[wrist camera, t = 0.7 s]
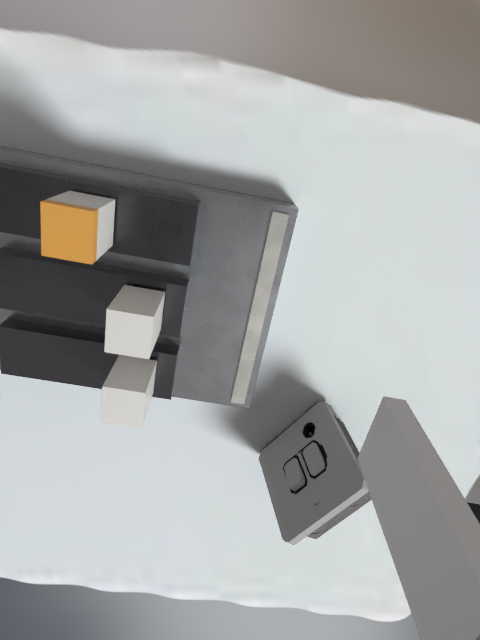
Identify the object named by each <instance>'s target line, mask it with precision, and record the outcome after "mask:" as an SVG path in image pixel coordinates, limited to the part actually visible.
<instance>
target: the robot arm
mask: <svg viewBox="0 0 480 640" xmlns="http://www.w3.org/2000/svg"><path fill="white" fill-rule="evenodd" d="M357 459H358V461H359V464H360V467H361V470H362V473H363V476H364V479H365V481H366V484H367V487H368V490H369V493H370V496H371V499H372V501H373V504H374V507H375V510H376V513H377V516H378V519H379V521H380V524H381V527H382V530H383V533H384V536H385V539H386V541H387V544H388V547H389V550H390V553H391V556H392V558H393V561H394V564H395V567H396V570H397V573H398V576H399V578H400V581H401V584H402V587H403V590H404V593H405V596H406V598H407V601H408V604H409V607H410V610H411V613H412V615H413V618H414V621H415V624H416V627H417V630H418V633H419V636H420V638H421V640H480V505H479V504H473V503H467V502H466V500H465V499H464V497H463V495H462V494H461V492H460V490H459V489H458V487H457V485H456V484H455V482H454V480H453V479H452V477H451V475H450V474H449V472H448V470H447V469H446V467H445V465H444V464H443V462H442V460H441V459H440V457H439V455H438V454H437V452H436V450H435V449H434V447H433V445H432V444H431V442H430V440H429V439H428V437H427V435H426V434H425V432H424V430H423V429H422V427H421V425H420V424H419V422H418V420H417V419H416V417H415V415H414V414H413V412H412V410H411V409H410V407H409V405H408V404H407V402H406V400H401V399H395V398H390V397H383V399H382V401H381V404H380V406H379V408H378V411H377V413H376V415H375V418H374V420H373V422H372V425H371V427H370V430H369V432H368V434H367V437H366V439H365V441H364V444H363V446H362V448H361V451H360V453H359V456H358V458H357Z"/></svg>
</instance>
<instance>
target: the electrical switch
mask: <svg viewBox="0 0 480 640" xmlns="http://www.w3.org/2000/svg"><path fill="white" fill-rule="evenodd" d="M358 456H359V451H358V449H357V448H356V446H355V444H354V442H353V440H352V438H351V436H350V435H349V433H348V431H347V429H346V427H345V425H344V423H343V422H341V421H340V420H338V419H336V418H335V413H334V411H333V409H332V407H331V405H329V404H327V403H325V402H322V401H321V402H318V403H317V404H315V405H314V406H313V407H312V408H311V409H310V410H308V411H307V412H306V413H305V414H304V415H303V416H301V417H300V418H299V419H298V420H297V421H296V422H295V423H293V424H292V425H291V426H290V427H289V428H288V429H286V430H285V431H284V432H283V433H282V434H281V435H279V436H278V437H277V438H276V439H275V440H274V441H273V442H271V443H270V444H269V445H268V446H267V447H266V448H264V449H263V450H262V451H261V453H260V456H259V461H260V464H261V467H262V470H263V474H264V477H265V481H266V484H267V487H268V491H269V494H270V498H271V501H272V504H273V508H274V511H275V515H276V518H277V521H278V525H279V528H280V532H281V535H282V538H283V540H284V541H286V542H288V543H291V544H292V545H295V544H296V543H298V542H299V541H301V540H302V539H303V538H305V537H306V536H308V537H311V538H314V539H317V538H318V537H320V536H321V535H322V534H324V533H325V532H327V531H328V530H330V529H331V528H332V527H334V526H335V525H337V524H338V523H339V522H341V521H342V520H344V519H345V518H346V517H348V516H349V515H351V514H352V513H353V512H355V511H356V510H358V509H359V508H360V507H362V506H363V505H365V504H366V503H367V502H369V501H370V500H372V499H371V496H370V493H369V490H368V487H367V484H366V481H365V479H364V476H363V473H362V470H361V467H360V464H359V461H358V459H357V458H358Z"/></svg>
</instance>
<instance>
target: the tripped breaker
mask: <svg viewBox="0 0 480 640" xmlns="http://www.w3.org/2000/svg"><path fill="white" fill-rule="evenodd" d="M40 211H41V256H46V257H52V258H58V259H63V260H69V261H75V262H80V263H86V264H91V265H92V264H93V263H94V262H95V261H97V260H98V259H99V258H100V257H101V256H102V255H103V254H104V253H105V252H106V251H107V250H108V249H109V248H111V247H112V246H113V232H114V214H115V199H111V198H106V197H101V196H96V195H90V194H85V193H80V192H75V191H67V192H65V193H62V194H59V195H57V196H54V197H51V198H49V199H46V200H43V201H40Z"/></svg>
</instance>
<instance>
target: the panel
mask: <svg viewBox="0 0 480 640" xmlns="http://www.w3.org/2000/svg"><path fill="white" fill-rule="evenodd" d="M67 191H75V192H80V193H85V194H90V195H96V196H101V197H106V198H111V199H115V214H114V232H113V246H112V247H111V248H109V249H108V250H107V251H106V252H105V253H104V254H103V255H102V256H101V257H100V258H99V259H98V260H97V261H95V262H94V263H93V264H92V265H91V264H86V263H80V262H75V261H69V260H63V259H58V258H52V257H46V256H41V211H40V201H43V200H46V199H49V198H51V197H54V196H57V195H59V194H62V193H65V192H67ZM297 213H298V207H297V206H296V205H295V204H291V203H286V202H281V201H276V200H271V199H266V198H261V197H256V196H251V195H246V194H241V193H236V192H230V191H225V190H220V189H215V188H210V187H205V186H200V185H195V184H190V183H185V182H180V181H175V180H170V179H164V178H159V177H154V176H149V175H144V174H139V173H134V172H129V171H124V170H119V169H114V168H109V167H104V166H99V165H93V164H88V163H83V162H78V161H73V160H68V159H63V158H58V157H53V156H48V155H43V154H38V153H33V152H27V151H22V150H17V149H12V148H7V147H2V146H0V370H1V373H2V374H8V375H15V376H21V377H28V378H34V379H41V380H47V381H54V382H60V383H67V384H73V385H80V386H86V387H93V388H99V389H102V386H103V384H104V382H105V381H106V379H107V377H108V375H109V373H110V371H111V369H112V367H113V366H114V364H115V362H116V360H117V358H118V356H119V354H113V353H106V352H104V347H105V328H106V310H107V308H108V306H109V305H110V304H111V302H112V301H113V300H114V298H115V297H116V296H117V294H118V293H119V291H120V290H121V289H122V287H123V286H124V285H128V286H134V287H140V288H145V289H151V290H157V291H162V292H165V298H164V306H163V315H162V323H161V330H160V333H159V336H158V338H157V341H156V343H155V346H154V348H153V351H152V353H151V356H150V358H149V359H150V360H156V361H157V365H156V373H155V382H154V390H153V395H152V397H158V398H164V399H171V397H178V398H185V399H191V400H198V401H204V402H211V403H217V404H224V405H230V406H237V407H243V408H250V404H251V400H252V396H253V392H254V388H255V384H256V380H257V376H258V372H259V368H260V363H261V359H262V355H263V351H264V347H265V343H266V339H267V335H268V331H269V327H270V323H271V319H272V315H273V311H274V307H275V303H276V299H277V295H278V290H279V286H280V282H281V278H282V274H283V270H284V266H285V262H286V258H287V254H288V250H289V246H290V242H291V238H292V234H293V230H294V226H295V222H296V217H297Z"/></svg>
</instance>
